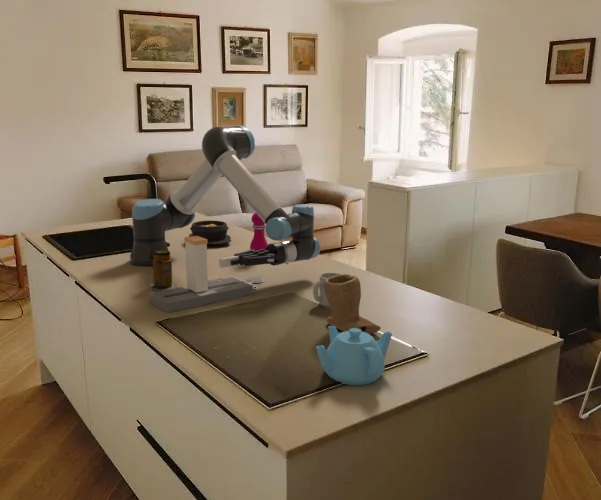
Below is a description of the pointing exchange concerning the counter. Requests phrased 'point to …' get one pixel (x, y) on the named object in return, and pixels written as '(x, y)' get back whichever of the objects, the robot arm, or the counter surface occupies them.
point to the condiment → (162, 271)
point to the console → (200, 294)
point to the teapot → (354, 356)
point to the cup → (322, 289)
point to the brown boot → (346, 304)
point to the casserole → (211, 231)
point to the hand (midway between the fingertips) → (220, 263)
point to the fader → (196, 263)
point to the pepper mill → (258, 233)
